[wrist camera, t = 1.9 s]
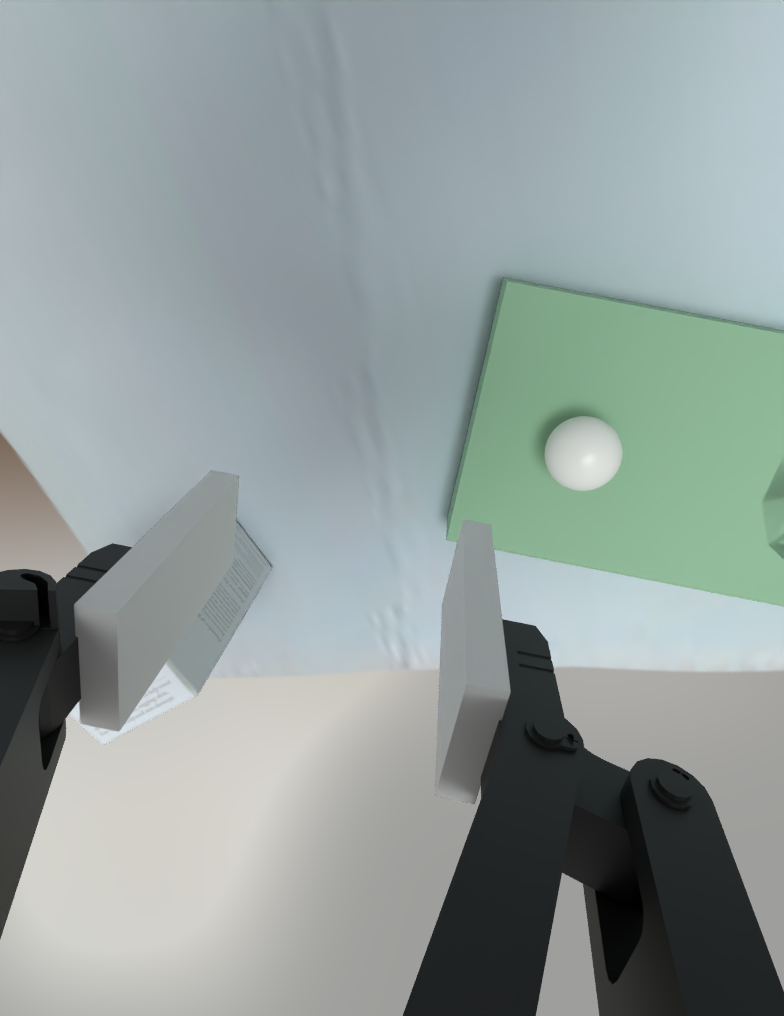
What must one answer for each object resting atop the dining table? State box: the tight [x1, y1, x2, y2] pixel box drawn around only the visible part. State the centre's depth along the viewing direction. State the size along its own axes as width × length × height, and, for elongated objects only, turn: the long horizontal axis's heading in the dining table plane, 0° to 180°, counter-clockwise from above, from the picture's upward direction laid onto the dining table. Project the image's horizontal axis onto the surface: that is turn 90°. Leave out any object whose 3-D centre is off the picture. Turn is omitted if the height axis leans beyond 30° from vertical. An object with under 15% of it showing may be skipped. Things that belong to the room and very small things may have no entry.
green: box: [446, 278, 784, 606], centre depth 31 cm, size 26×13×2 cm, turn 80°
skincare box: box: [69, 521, 272, 745], centre depth 32 cm, size 6×4×12 cm
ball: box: [544, 416, 623, 491], centre depth 28 cm, size 3×3×3 cm
